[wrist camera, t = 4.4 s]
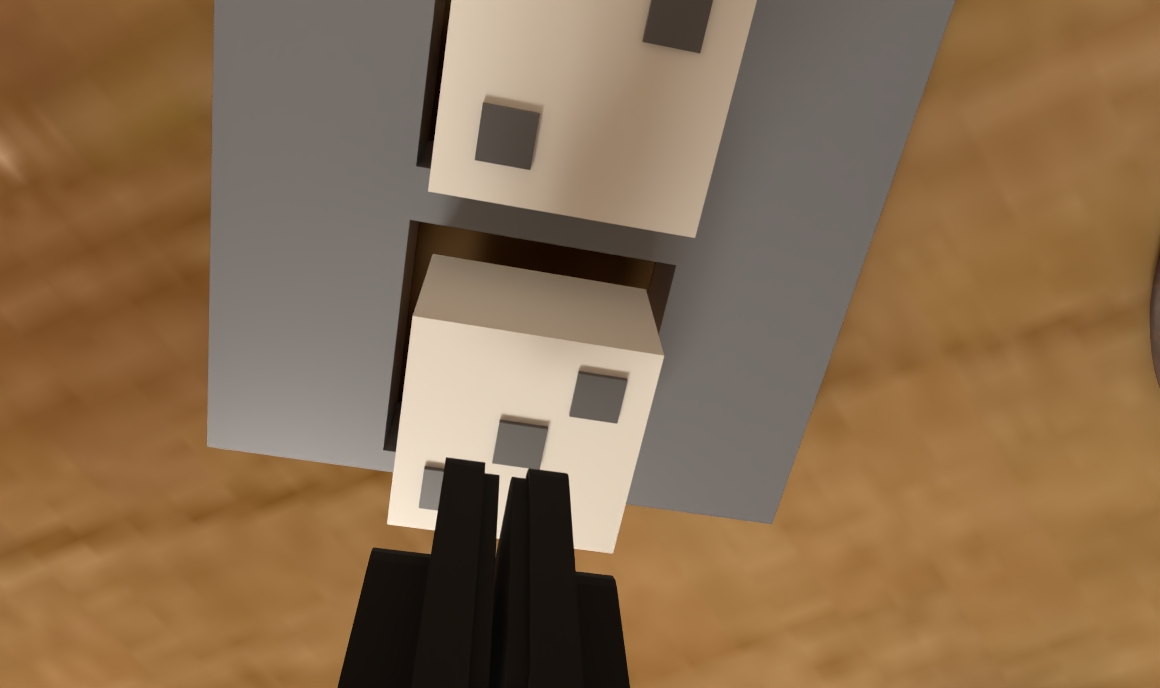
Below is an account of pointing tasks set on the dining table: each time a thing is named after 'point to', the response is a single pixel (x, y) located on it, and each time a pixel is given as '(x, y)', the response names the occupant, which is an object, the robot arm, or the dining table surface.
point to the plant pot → (1155, 322)
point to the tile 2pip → (588, 106)
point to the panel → (543, 233)
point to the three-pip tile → (526, 389)
